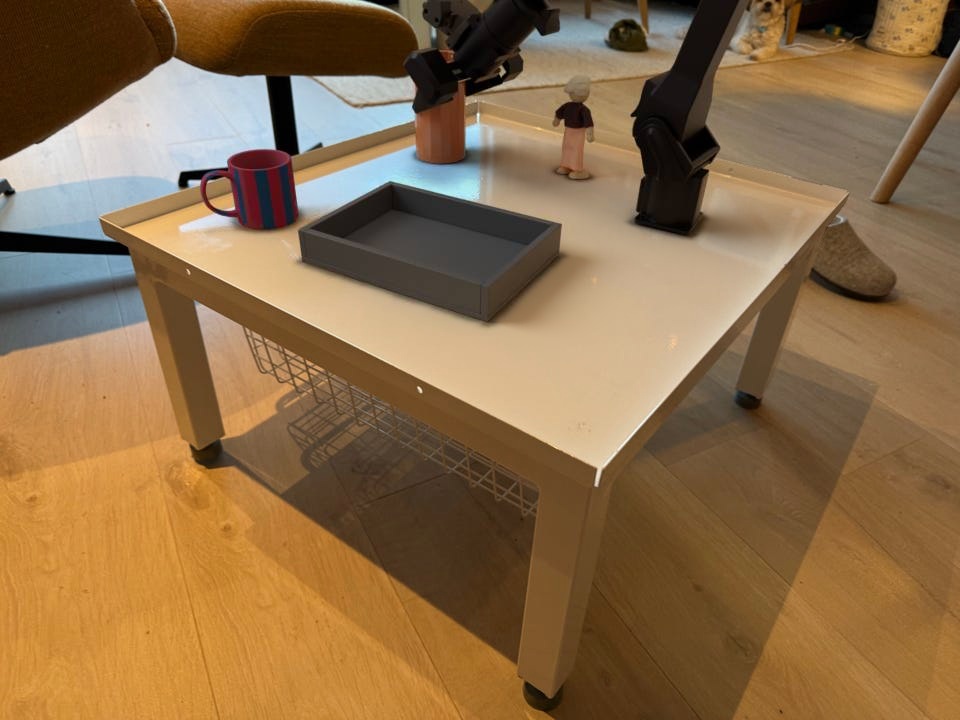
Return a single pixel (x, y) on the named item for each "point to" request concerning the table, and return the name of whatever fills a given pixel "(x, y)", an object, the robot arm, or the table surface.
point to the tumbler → (442, 127)
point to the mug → (259, 189)
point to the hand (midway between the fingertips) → (432, 104)
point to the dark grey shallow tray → (433, 247)
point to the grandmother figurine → (575, 126)
